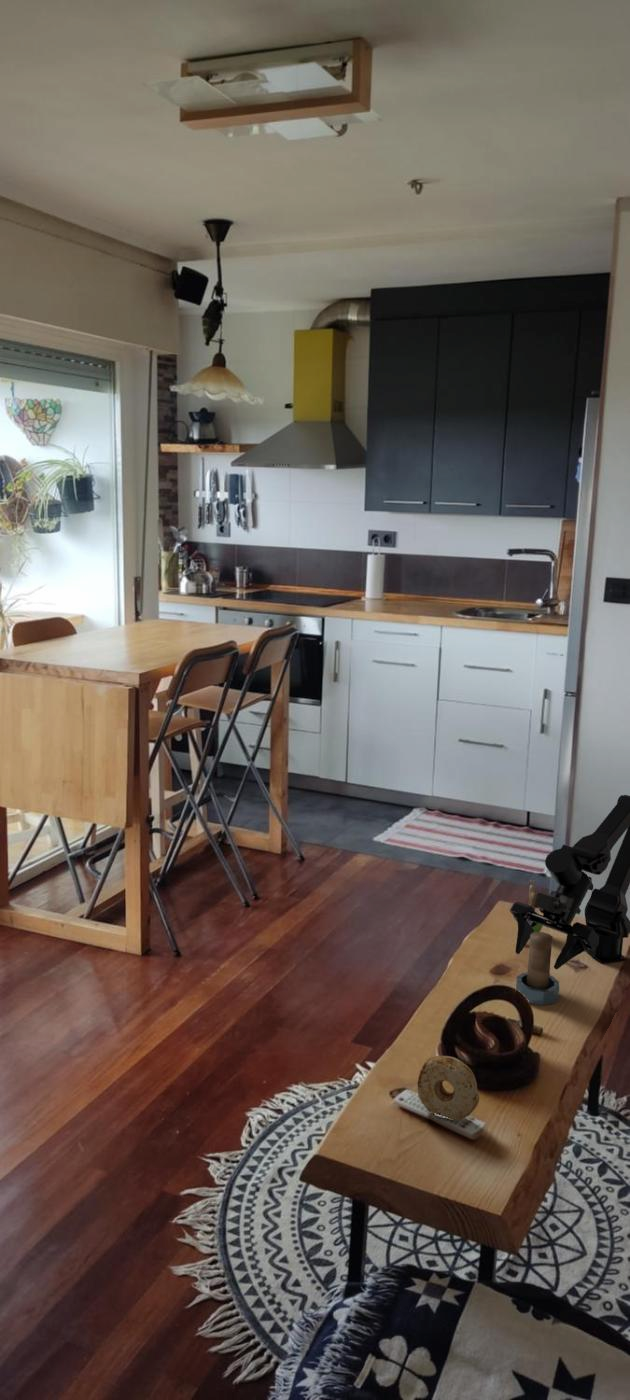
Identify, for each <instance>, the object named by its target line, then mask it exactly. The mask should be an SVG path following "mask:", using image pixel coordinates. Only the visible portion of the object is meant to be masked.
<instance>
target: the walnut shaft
mask: <svg viewBox="0 0 630 1400" xmlns="http://www.w3.org/2000/svg"><path fill="white" fill-rule="evenodd" d="M552 945H553V936H552V935H551V934H549V933H547V932H544V931H543V932H542V931H539V932H534V933H531V935H530V939H529V948H528V949H529V950H528V962H527V972H528V974H527V986H529V987H531V988H535V989H548V985H549V975H550V973H551V972H550V970H551V957H552V948H553V947H552Z"/></svg>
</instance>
